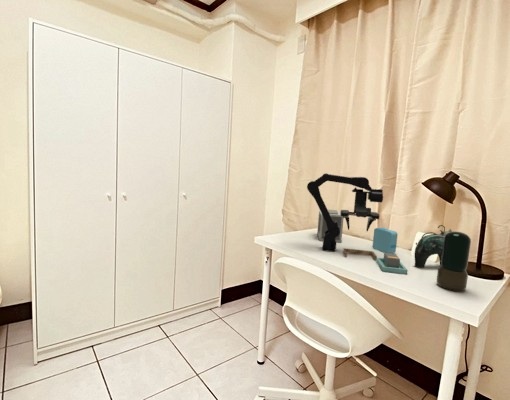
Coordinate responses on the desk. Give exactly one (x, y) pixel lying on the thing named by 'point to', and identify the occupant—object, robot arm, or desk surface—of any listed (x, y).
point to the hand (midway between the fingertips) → (357, 230)
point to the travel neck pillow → (429, 247)
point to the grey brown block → (391, 260)
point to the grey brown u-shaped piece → (359, 252)
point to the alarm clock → (323, 227)
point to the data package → (385, 240)
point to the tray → (389, 269)
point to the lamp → (454, 261)
